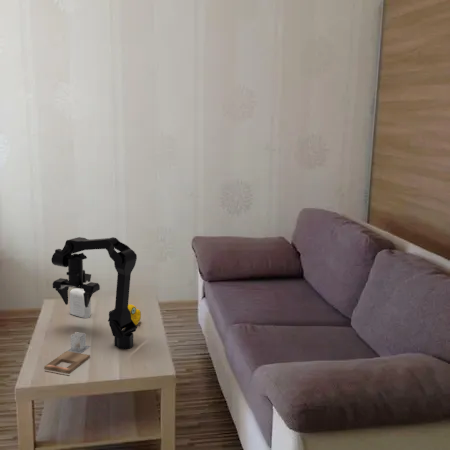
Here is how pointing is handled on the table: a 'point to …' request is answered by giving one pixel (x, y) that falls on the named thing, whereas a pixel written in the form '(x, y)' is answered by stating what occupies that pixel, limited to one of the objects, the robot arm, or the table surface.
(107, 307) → the table surface
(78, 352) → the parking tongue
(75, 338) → the block
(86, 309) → the photo printer
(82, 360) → the board
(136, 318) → the duckling
